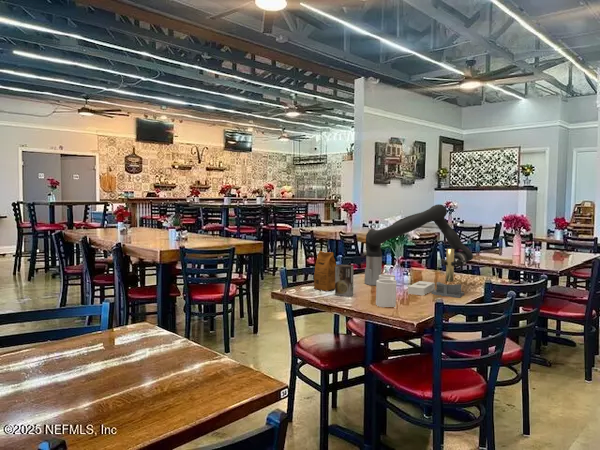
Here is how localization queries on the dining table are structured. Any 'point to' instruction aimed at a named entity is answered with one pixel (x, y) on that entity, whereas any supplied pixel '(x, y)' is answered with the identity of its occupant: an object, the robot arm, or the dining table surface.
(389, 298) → the grey jar set
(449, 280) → the axle
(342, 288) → the coffee box
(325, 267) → the coffee package
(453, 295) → the v block
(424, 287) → the grey recessed block
